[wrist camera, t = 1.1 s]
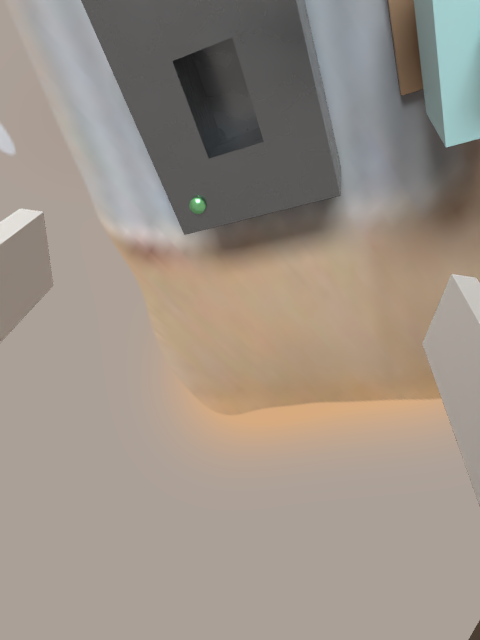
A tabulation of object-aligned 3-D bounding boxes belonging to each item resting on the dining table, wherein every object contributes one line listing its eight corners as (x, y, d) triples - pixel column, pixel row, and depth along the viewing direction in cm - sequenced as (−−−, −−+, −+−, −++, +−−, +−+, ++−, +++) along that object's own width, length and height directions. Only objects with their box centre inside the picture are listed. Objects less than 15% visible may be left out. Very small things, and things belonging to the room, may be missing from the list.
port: (285, -89, 28) (272, -101, 23) (340, 165, 36) (340, 197, 31) (117, -10, 32) (76, -6, 27) (203, 203, 40) (183, 236, 35)
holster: (529, -105, 26) (559, -116, 22) (528, 52, 30) (554, 63, 26) (381, -44, 28) (387, -45, 25) (400, 92, 33) (407, 107, 29)
